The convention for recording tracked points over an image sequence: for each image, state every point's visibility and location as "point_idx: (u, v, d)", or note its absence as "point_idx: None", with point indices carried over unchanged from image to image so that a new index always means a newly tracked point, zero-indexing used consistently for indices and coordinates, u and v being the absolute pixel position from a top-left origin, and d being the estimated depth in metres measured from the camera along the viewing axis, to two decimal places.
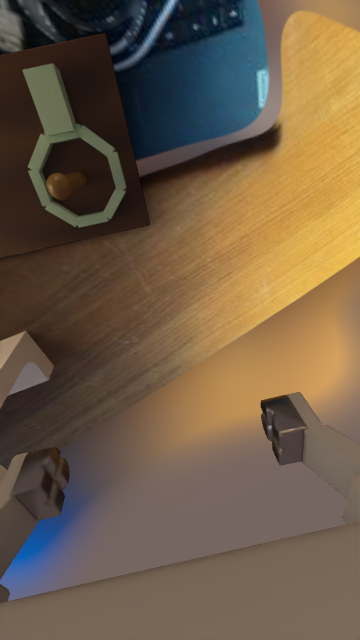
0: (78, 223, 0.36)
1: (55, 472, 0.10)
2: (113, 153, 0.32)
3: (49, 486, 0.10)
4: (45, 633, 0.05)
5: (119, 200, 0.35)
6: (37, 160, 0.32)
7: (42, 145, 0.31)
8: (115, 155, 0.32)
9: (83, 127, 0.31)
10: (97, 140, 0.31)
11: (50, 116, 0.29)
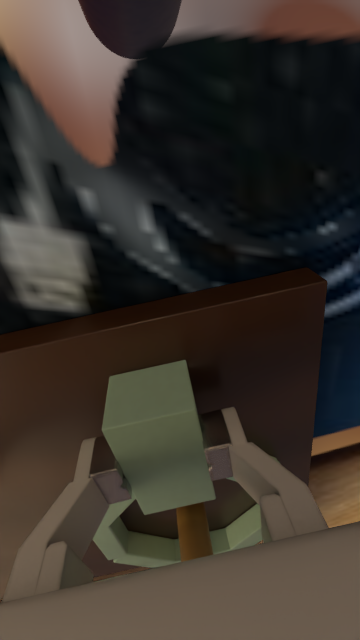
0: None
1: None
2: None
3: (122, 470, 0.10)
4: (45, 633, 0.05)
5: None
6: (108, 515, 0.13)
7: None
8: None
9: None
10: None
11: (162, 489, 0.11)
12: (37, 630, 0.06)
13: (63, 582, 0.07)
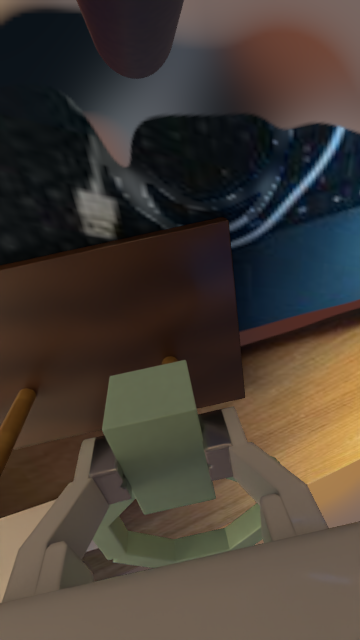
0: None
1: None
2: None
3: (122, 470, 0.10)
4: (45, 633, 0.05)
5: None
6: (108, 515, 0.13)
7: None
8: None
9: None
10: None
11: (162, 489, 0.11)
12: (37, 630, 0.06)
13: (63, 582, 0.07)
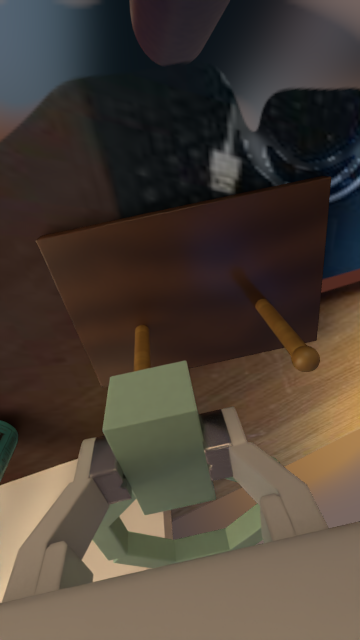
0: None
1: None
2: None
3: (122, 470, 0.10)
4: (45, 633, 0.05)
5: None
6: (108, 515, 0.13)
7: None
8: None
9: None
10: None
11: (163, 490, 0.11)
12: (37, 630, 0.06)
13: (63, 582, 0.07)
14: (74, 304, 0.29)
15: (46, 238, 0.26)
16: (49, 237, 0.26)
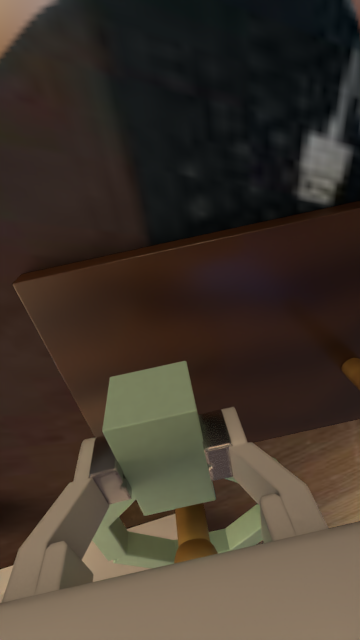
0: None
1: None
2: None
3: (122, 470, 0.10)
4: (46, 633, 0.05)
5: None
6: (108, 515, 0.13)
7: None
8: None
9: None
10: None
11: (163, 490, 0.11)
12: (37, 630, 0.06)
13: (63, 582, 0.07)
14: (76, 373, 0.19)
15: (29, 280, 0.16)
16: (34, 279, 0.16)
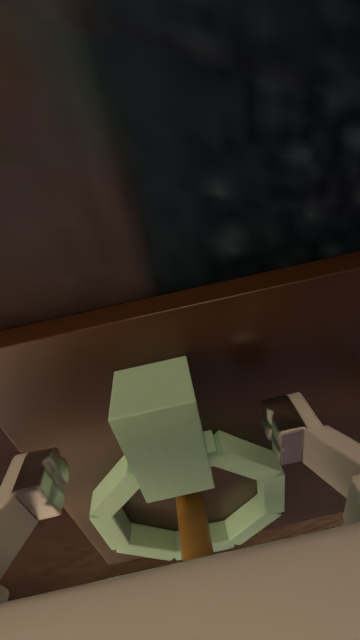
0: (177, 557, 0.18)
1: (55, 472, 0.10)
2: (277, 477, 0.15)
3: (49, 486, 0.10)
4: (45, 633, 0.05)
5: (265, 525, 0.17)
6: (112, 505, 0.14)
7: (127, 486, 0.13)
8: (281, 479, 0.15)
9: (226, 454, 0.13)
10: (250, 466, 0.14)
11: (164, 478, 0.11)
12: (37, 630, 0.06)
13: None
14: None
15: None
16: None
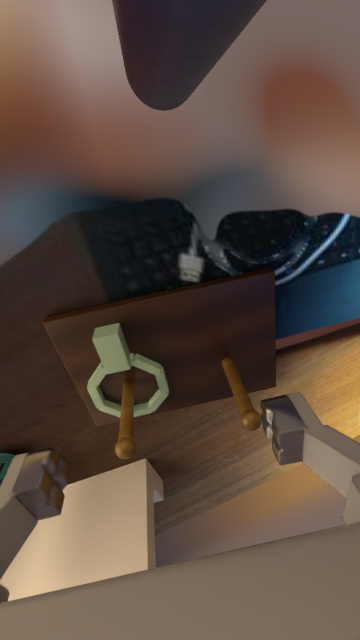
0: None
1: (55, 472, 0.10)
2: (160, 373, 0.37)
3: (49, 486, 0.10)
4: (46, 633, 0.05)
5: (162, 400, 0.40)
6: (95, 382, 0.37)
7: (101, 373, 0.36)
8: (162, 374, 0.37)
9: (137, 360, 0.36)
10: (148, 366, 0.37)
11: (111, 363, 0.34)
12: (37, 630, 0.06)
13: None
14: (73, 366, 0.37)
15: (50, 321, 0.33)
16: (53, 320, 0.33)
